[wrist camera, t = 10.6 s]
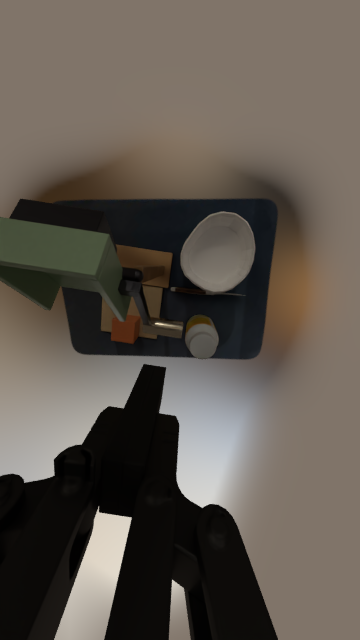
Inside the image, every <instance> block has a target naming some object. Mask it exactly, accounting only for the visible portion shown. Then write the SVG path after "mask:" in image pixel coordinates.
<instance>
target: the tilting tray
mask: <svg viewBox="0 0 360 640" xmlns="http://www.w3.org/2000/svg"><path fill="white" fill-rule="evenodd" d="M143 278H144V274H143V272H142V271H141V270H139V269H134V268H128V267H122V266H121V264H120V261H119V258H118V256H117V246H116V244H115V241H114V238H113V235H112V233H111V230H110V227H109V225H108V222H107V219H106V216H105V214H104V212H103V211H97V210H90V209H84V208H78V207H71V206H65V205H58V204H52V203H45V202H39V201H32V200H26V199H20V200H19V202H18V204H17V206H16V207H15V209H14V211H13V213H12V214H11V216H10V218H2V217H0V281H2V282H4V283H5V284H6V285H8V286H10V287H11V288H13V289H14V290H16V291H17V292H19V293H20V294H22V295H23V296H25V297H26V298H28V299H30V300H31V301H33V302H34V303H36V304H37V305H39V306H40V307H42V308H43V309H45V310H51V308H52V306H53V303H54V300H55V298H56V295H57V293H58V291H59V288H60V286H62V287H69V288H75V289H81V290H88V291H94V292H99V293H100V294H101V296H102V297H103V299H104V300H105V301H106V303H107V304H108V306H109V307H110V308H111V310H112V311H113V313H114V314H115V315H116V317H117V318H118V319H119V321H122V322H125V321H126V317H127V313H128V309H129V305H130V301H131V297H133V298H134V301H135V304H136V306H137V309H138V311H139V314H140V316H141V319H142V322H143V327H142V331H143V333H149V334H156V335H162V336H169V337H175V338H181V336H182V330H183V322H182V321H176V320H169V319H163V318H157V317H150V314H149V310H148V307H147V303H146V299H145V295H144V291H143V285H142V282H141V281H142V280H143Z"/></svg>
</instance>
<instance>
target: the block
mask: <svg viewBox="0 0 360 640" xmlns="http://www.w3.org/2000/svg"><path fill="white" fill-rule="evenodd" d="M140 318H141V317H139V316H133V315H127V317H126V321H125V322H122V321H119V319H118V318H117V317H115V318H113V319H112V333H111V340H112V341H119V342H125V343H131V344H133V343H134V342H135V340H136V339H137V338H138V336H139V328H140Z"/></svg>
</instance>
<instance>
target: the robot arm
mask: <svg viewBox="0 0 360 640" xmlns="http://www.w3.org/2000/svg"><path fill="white" fill-rule="evenodd" d="M165 371H166V367H160V366H153V365H147V364H144V365H143V367H142V369H141V371H140V374H139V376H138V378H137V380H136V383H135V385H134V387H133V389H132V392H131V394H130V396H129V398H128V400H127V403H126V405H125V407H124V409H123V408H117V407H111V406H109V407H107V408H106V409H105V410H103V412H101V413H100V415H99V416H98V418H97V420H96V422H95V424H94V425H93V427H92V428H91V431H90V432H89V433H88V435H87V437H86V438H85V440H84V442H83V444H82V445H75V446H72V447H69V448H67V449H65V450H64V451H62V452H61V453H60V454H59V455H58V456H57V457H56V458H55V459H54V472H55V476H53V477H50V478H47V479H44V480H38V481H33V482H27V483H24V480H23V479H22V477H20V476H19V475H15V474H8V475H3V476H0V640H54V638H55V635H56V632H57V630H58V627H59V624H60V621H61V618H62V615H63V613H64V610H65V607H66V604H67V601H68V598H69V596H70V593H71V590H72V587H73V585H74V582H75V579H76V576H77V573H78V570H79V568H80V565H81V562H82V559H83V557H84V554H85V551H86V548H87V545H88V543H89V540H90V537H91V534H92V530H93V524H94V518H95V515H96V512H97V509H98V506H99V512H100V513H107V514H113V515H119V516H126V517H132V520H131V524H130V529H129V533H128V537H127V542H126V546H125V551H124V555H123V560H122V564H121V569H120V573H119V577H118V581H117V586H116V590H115V595H114V600H113V604H112V608H111V612H110V617H109V622H108V626H107V630H106V635H105V639H104V640H169V622H170V605H171V587H172V580H174V581H175V582H177V583H178V584H179V585H180V586H182V587H183V588H184V591H185V598H186V606H187V614H188V621H189V629H190V636H191V640H278V638H277V635H276V632H275V630H274V627H273V624H272V621H271V619H270V616H269V613H268V610H267V607H266V605H265V602H264V599H263V596H262V593H261V591H260V588H259V585H258V582H257V580H256V577H255V574H254V571H253V568H252V566H251V563H250V560H249V557H248V555H247V552H246V549H245V546H244V543H243V541H242V538H241V535H240V532H239V529H238V527H237V525H236V523H235V521H234V519H233V517H232V516H231V514H229V512H228V511H227V510H226V509H224V508H223V507H221V506H219V505H215V504H209V505H207V506H205V507H204V508H201V507H200V506H198V505H196V504H194V503H193V502H191V501H190V500H188V499H187V498H186V497H185V496H184V495H183V494H182V493H181V491H180V489H179V487H178V484H177V481H176V471H177V455H178V454H177V453H178V438H179V423H178V420H177V418H176V416H172V415H165V414H160V413H159V409H160V405H161V399H162V392H163V385H164V378H165Z"/></svg>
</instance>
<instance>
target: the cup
mask: <svg viewBox="0 0 360 640" xmlns="http://www.w3.org/2000/svg"><path fill="white" fill-rule="evenodd" d="M254 255H255V241H254V234H253V232H252V230H251V228H250V226H249V224H248V222H247V221H246V220H245V219H243V218H242V217H240V216H239V215H238V214H236V213H230V212H223V211H222V212H218V213H215V214H211V215H209V216H208V217H206V218H205V219H204V220H203V221H201V222H200V223H199V224H198V225H197V227H196V228H195V229H194V230H193V232H192V233H191V234H190V236H189V237H188V239H187V240H186V242H185V243H184V246H183V249H182V251H181V268H182V270H183V272H184V275H185V276H186V277H187V278H188V279H189V280H190V281H191V282H192V283H193V284H195V285H196V286H198V287H200V288H201V289H203V290H206V291H209V292H212V293H222V292H226V291H228V290H231V289H233V288H234V287H235V286H236V285H238V284H239V283H240V282H241V281H242V280H244V278H245V277H246V276H247V274H248V273H249V271H250V269H251V266H252V264H253V261H254Z"/></svg>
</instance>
